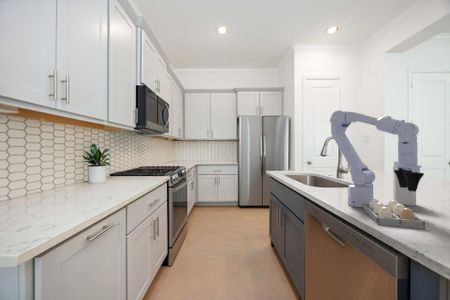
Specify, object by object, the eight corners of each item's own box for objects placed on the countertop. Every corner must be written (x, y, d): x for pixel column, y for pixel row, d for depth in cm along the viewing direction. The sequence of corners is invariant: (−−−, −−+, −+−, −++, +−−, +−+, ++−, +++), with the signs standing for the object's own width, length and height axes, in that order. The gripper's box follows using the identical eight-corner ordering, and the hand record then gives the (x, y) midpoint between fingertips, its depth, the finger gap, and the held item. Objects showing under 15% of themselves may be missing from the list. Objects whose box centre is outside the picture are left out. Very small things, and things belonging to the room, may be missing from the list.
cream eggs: (380, 221, 73) (380, 207, 73) (368, 209, 88) (368, 197, 88) (417, 225, 70) (417, 210, 70) (397, 211, 85) (397, 199, 84)
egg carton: (376, 223, 72) (376, 217, 72) (362, 208, 90) (362, 203, 90) (425, 228, 68) (425, 221, 68) (400, 211, 85) (400, 206, 85)
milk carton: (416, 206, 93) (415, 162, 93) (395, 204, 97) (395, 161, 97) (412, 202, 99) (412, 161, 99) (393, 200, 103) (393, 161, 103)
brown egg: (410, 225, 70) (410, 210, 70) (397, 221, 73) (397, 207, 73) (417, 223, 71) (417, 209, 71) (404, 220, 75) (404, 206, 75)
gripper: (430, 154, 75) (431, 193, 75) (411, 153, 88) (412, 186, 88) (405, 154, 77) (405, 192, 77) (391, 153, 91) (391, 185, 91)
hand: (407, 189), depth 83 cm, fingers open, 7 cm apart
